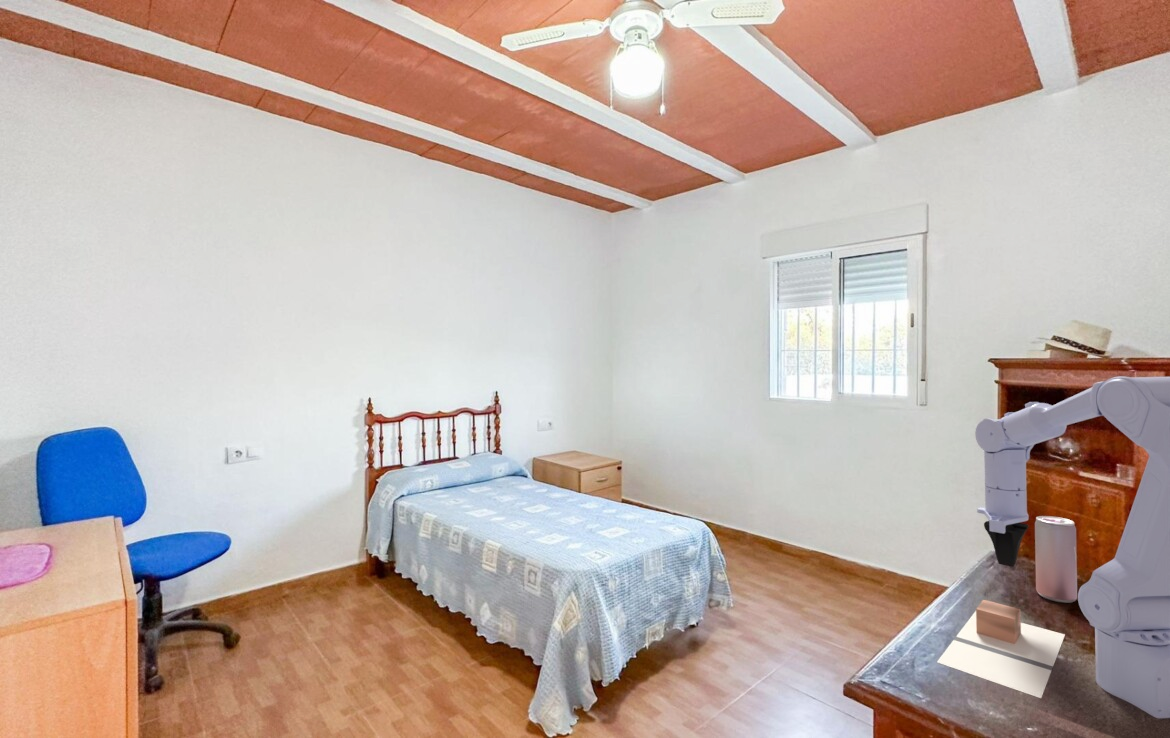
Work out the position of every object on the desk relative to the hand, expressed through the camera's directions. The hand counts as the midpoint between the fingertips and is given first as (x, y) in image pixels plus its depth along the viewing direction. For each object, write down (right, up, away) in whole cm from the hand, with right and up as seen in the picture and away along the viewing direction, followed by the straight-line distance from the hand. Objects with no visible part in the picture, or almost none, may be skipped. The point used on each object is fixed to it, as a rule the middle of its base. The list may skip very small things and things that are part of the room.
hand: (1006, 564), depth 92 cm
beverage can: (+18, -10, +10) cm, 23 cm away
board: (-8, -11, -9) cm, 16 cm away
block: (-5, -10, -5) cm, 12 cm away
